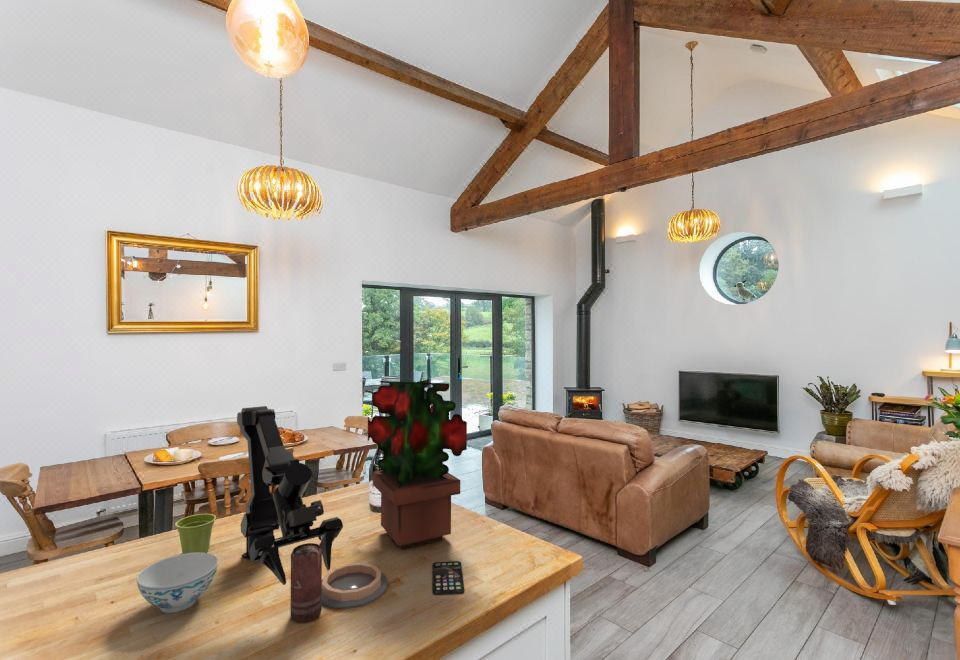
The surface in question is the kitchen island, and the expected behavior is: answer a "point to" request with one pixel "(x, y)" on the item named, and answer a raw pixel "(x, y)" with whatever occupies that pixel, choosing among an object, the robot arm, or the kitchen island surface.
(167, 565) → the chinaware
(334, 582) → the ring tray
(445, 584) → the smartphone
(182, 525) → the plant pot
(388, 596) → the kitchen island surface
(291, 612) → the can
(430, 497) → the potted plant
